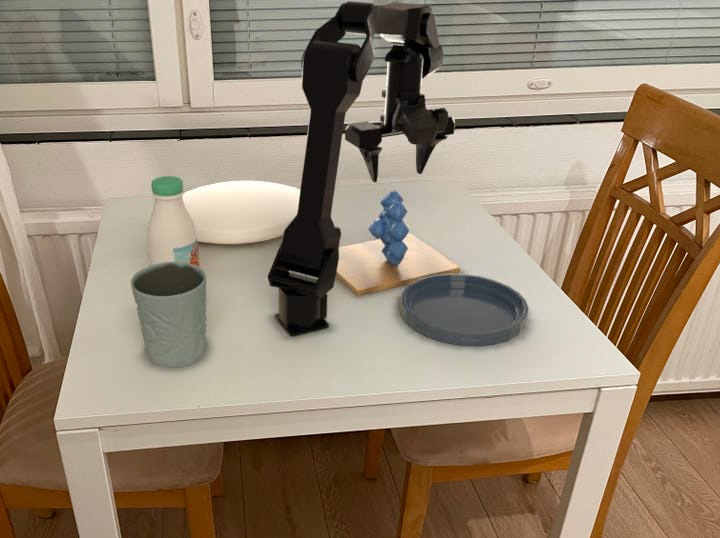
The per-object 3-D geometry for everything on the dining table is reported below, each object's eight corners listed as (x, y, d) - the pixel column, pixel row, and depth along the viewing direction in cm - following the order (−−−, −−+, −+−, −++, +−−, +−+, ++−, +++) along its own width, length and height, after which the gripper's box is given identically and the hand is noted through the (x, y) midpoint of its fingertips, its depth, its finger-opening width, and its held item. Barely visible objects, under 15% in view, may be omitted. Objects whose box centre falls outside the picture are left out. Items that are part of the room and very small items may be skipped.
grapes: (360, 246, 136) (363, 182, 129) (396, 245, 137) (402, 181, 130) (373, 276, 126) (377, 208, 120) (412, 273, 127) (419, 206, 120)
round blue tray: (445, 358, 107) (447, 345, 106) (377, 299, 122) (378, 287, 120) (552, 329, 114) (555, 316, 112) (475, 276, 128) (477, 264, 127)
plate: (147, 226, 134) (180, 176, 156) (155, 259, 138) (186, 206, 160) (303, 216, 130) (314, 166, 153) (306, 251, 134) (316, 197, 156)
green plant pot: (213, 333, 113) (208, 261, 106) (209, 371, 104) (203, 295, 98) (145, 334, 113) (136, 262, 106) (135, 372, 104) (125, 296, 98)
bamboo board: (357, 296, 123) (357, 290, 122) (314, 257, 135) (314, 252, 134) (459, 272, 129) (460, 267, 129) (409, 237, 142) (410, 232, 141)
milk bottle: (161, 315, 117) (148, 192, 106) (148, 294, 123) (134, 175, 112) (208, 305, 120) (200, 185, 109) (193, 285, 126) (184, 168, 115)
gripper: (378, 105, 115) (373, 202, 124) (479, 91, 121) (467, 184, 130) (344, 88, 123) (342, 180, 132) (440, 76, 130) (432, 164, 138)
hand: (397, 177), depth 133 cm, fingers open, 9 cm apart
